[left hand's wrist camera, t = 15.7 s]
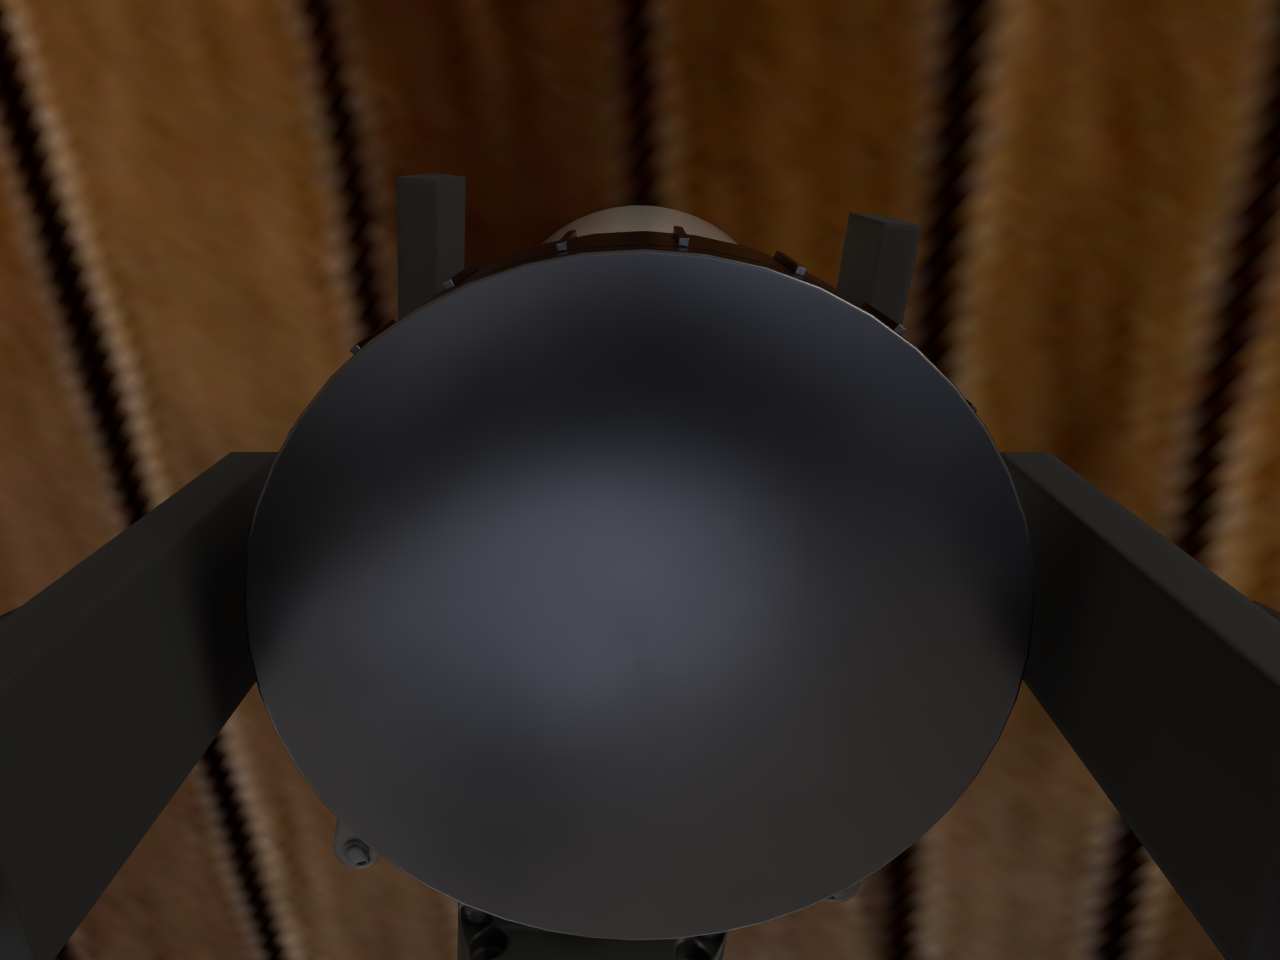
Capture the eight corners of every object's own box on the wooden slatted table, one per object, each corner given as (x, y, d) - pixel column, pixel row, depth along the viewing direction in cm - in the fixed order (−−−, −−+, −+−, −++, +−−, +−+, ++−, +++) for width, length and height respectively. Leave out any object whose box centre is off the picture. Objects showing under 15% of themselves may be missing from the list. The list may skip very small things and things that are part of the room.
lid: (867, 97, 10) (924, 83, 8) (1040, 724, 13) (1111, 826, 11) (171, 388, 11) (70, 439, 9) (483, 897, 14) (458, 1016, 12)
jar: (843, 346, 25) (1114, 607, 11) (647, 539, 27) (655, 967, 13) (630, 136, 23) (614, 112, 9) (437, 364, 25) (172, 643, 11)
